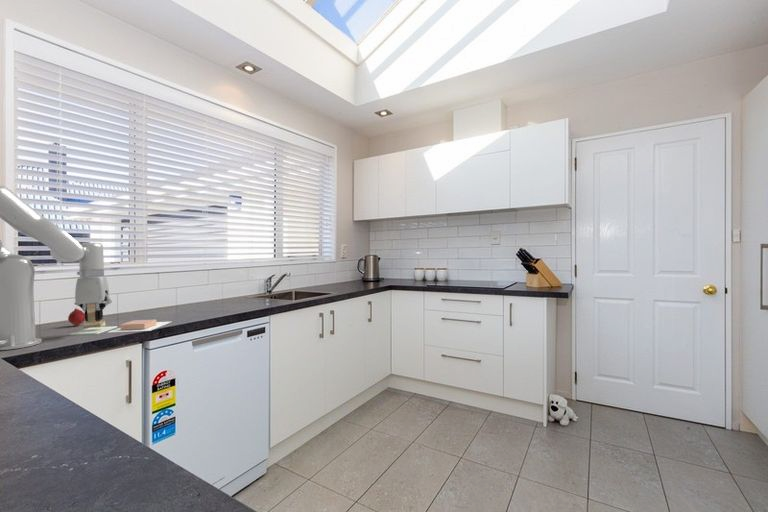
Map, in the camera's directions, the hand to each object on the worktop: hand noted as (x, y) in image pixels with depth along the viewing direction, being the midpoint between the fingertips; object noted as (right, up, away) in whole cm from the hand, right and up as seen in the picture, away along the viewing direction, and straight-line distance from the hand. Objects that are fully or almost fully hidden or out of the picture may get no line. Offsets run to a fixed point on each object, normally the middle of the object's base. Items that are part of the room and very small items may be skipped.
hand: (94, 319), depth 143 cm
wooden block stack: (0, -3, 0) cm, 3 cm away
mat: (+15, -5, +7) cm, 17 cm away
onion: (-19, -6, +15) cm, 25 cm away
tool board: (0, -5, 0) cm, 5 cm away
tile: (+14, -3, +9) cm, 17 cm away
